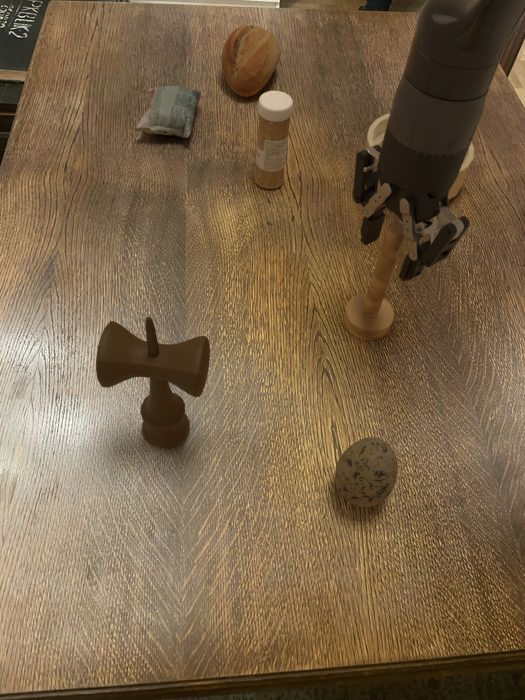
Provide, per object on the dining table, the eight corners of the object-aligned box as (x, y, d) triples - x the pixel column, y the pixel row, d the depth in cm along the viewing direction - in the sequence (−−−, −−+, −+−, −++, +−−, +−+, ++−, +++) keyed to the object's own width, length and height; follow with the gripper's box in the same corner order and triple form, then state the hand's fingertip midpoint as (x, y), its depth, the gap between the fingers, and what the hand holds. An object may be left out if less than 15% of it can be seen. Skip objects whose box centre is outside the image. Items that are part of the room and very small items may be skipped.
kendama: (129, 400, 68) (100, 282, 51) (214, 412, 68) (212, 297, 51) (115, 448, 64) (79, 339, 48) (205, 461, 64) (199, 355, 48)
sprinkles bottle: (254, 170, 92) (259, 88, 81) (284, 171, 92) (292, 90, 81) (253, 190, 89) (258, 108, 78) (284, 191, 89) (293, 110, 78)
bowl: (446, 143, 98) (457, 110, 94) (472, 209, 90) (487, 176, 85) (352, 143, 97) (359, 110, 92) (370, 210, 88) (378, 177, 83)
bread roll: (212, 97, 102) (212, 51, 95) (232, 52, 110) (233, 6, 104) (268, 107, 101) (271, 61, 95) (284, 61, 110) (288, 15, 103)
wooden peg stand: (385, 302, 78) (418, 208, 65) (395, 339, 75) (432, 248, 62) (339, 303, 78) (364, 208, 65) (347, 341, 74) (374, 249, 61)
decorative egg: (347, 452, 66) (366, 407, 58) (396, 483, 64) (422, 441, 56) (319, 495, 63) (334, 453, 55) (369, 528, 61) (392, 490, 53)
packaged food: (135, 143, 94) (132, 115, 90) (150, 99, 101) (148, 71, 97) (191, 149, 94) (190, 121, 90) (202, 105, 101) (202, 77, 97)
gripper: (521, 156, 51) (457, 286, 65) (407, 73, 58) (371, 208, 72) (459, 186, 49) (406, 316, 62) (346, 95, 55) (321, 231, 69)
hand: (387, 257), depth 67 cm, fingers open, 5 cm apart
